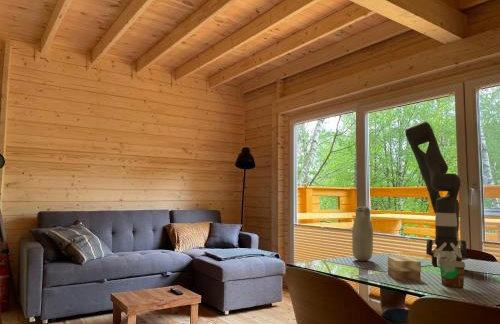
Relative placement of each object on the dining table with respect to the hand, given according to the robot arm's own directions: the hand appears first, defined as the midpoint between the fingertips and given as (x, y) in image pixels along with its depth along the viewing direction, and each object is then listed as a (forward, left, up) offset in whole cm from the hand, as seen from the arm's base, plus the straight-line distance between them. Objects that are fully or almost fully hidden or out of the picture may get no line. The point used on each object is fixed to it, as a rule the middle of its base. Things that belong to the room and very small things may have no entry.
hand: (446, 267), depth 154 cm
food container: (-1, 0, -7) cm, 7 cm away
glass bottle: (+20, -52, -7) cm, 56 cm away
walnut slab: (+12, -12, -7) cm, 19 cm away
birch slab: (+12, -12, -3) cm, 17 cm away
